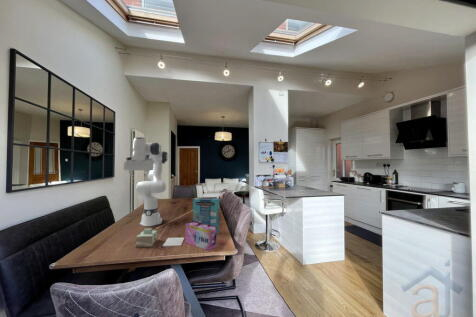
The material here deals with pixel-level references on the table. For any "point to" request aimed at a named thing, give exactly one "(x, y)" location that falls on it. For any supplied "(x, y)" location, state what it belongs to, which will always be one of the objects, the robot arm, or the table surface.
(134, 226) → the table surface
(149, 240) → the box
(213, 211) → the game box
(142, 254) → the table surface
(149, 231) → the lid
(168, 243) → the mat
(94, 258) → the table surface
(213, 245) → the gum box
